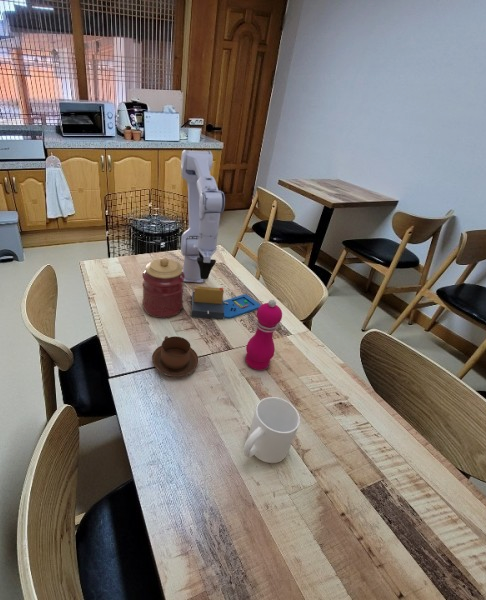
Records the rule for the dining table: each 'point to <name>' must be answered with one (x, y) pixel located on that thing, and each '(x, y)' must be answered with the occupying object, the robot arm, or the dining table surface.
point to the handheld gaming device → (239, 306)
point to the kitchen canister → (163, 288)
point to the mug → (272, 430)
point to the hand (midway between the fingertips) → (203, 272)
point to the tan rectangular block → (208, 295)
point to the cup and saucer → (175, 357)
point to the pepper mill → (263, 336)
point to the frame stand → (207, 309)
